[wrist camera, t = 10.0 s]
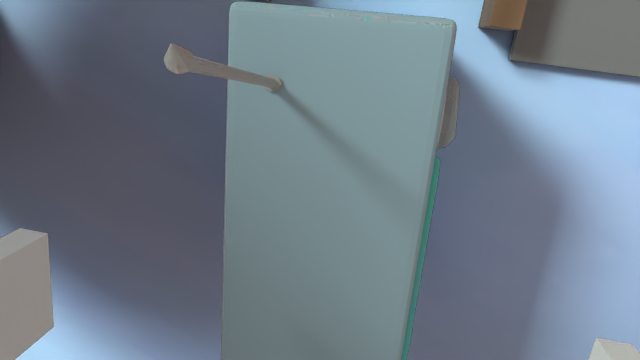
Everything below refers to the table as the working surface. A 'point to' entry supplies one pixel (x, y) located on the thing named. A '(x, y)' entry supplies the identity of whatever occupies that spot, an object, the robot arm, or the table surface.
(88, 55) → the table surface
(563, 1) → the rubber mat
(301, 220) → the radio
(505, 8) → the shelf cradle
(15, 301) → the robot arm
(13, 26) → the table surface
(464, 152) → the table surface
